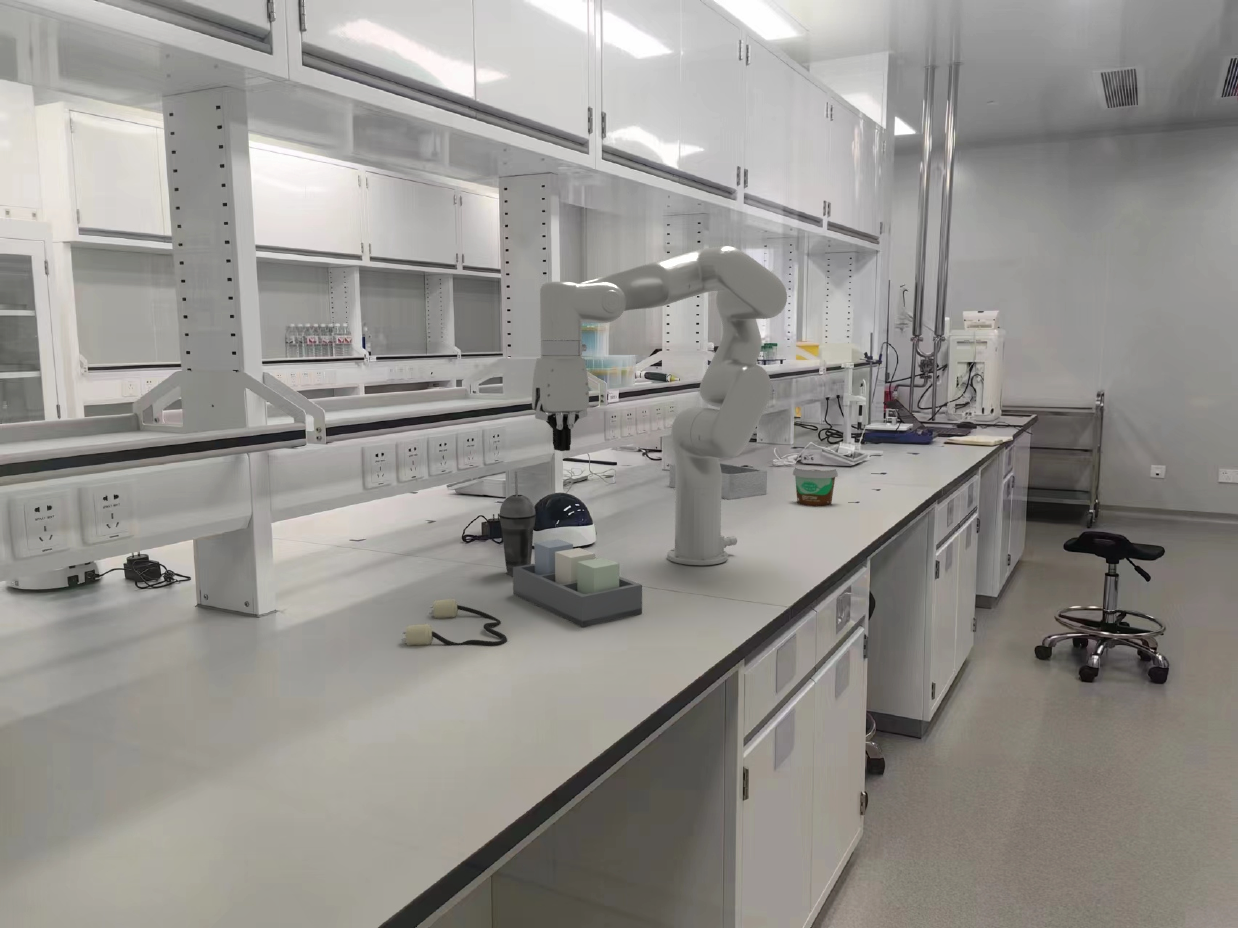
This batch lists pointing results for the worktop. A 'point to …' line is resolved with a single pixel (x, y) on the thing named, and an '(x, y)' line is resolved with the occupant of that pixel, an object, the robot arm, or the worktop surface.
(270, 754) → the worktop surface
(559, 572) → the key ivory
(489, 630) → the cable
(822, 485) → the food container
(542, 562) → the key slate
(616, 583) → the key sage
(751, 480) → the grey storage bin
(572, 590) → the box
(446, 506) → the worktop surface
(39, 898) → the worktop surface
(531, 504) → the beverage cup
